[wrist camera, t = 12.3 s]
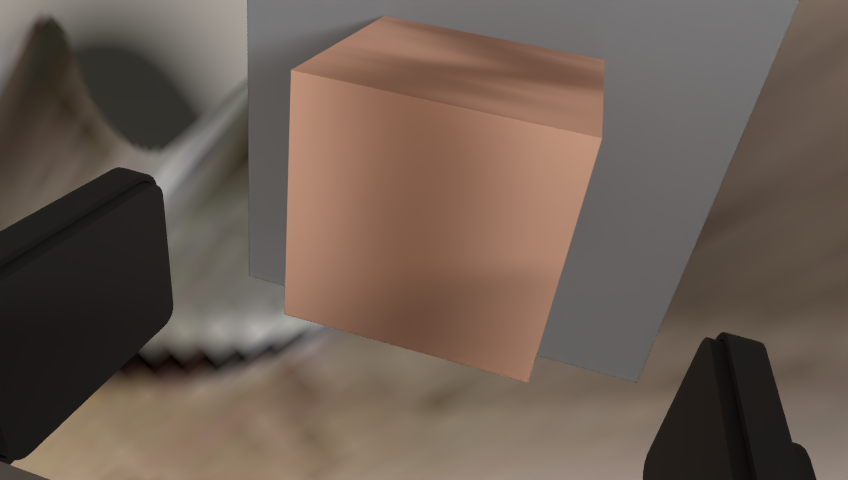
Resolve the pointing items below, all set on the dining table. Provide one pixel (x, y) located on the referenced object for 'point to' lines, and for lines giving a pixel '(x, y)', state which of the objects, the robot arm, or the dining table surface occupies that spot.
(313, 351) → the dining table surface
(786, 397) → the dining table surface
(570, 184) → the terracotta cube
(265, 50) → the gray block
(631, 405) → the dining table surface
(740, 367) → the robot arm
